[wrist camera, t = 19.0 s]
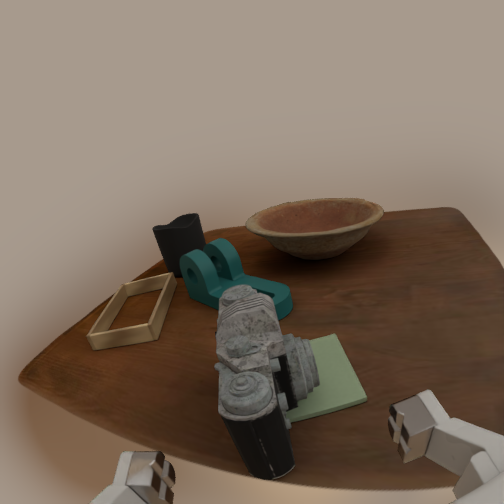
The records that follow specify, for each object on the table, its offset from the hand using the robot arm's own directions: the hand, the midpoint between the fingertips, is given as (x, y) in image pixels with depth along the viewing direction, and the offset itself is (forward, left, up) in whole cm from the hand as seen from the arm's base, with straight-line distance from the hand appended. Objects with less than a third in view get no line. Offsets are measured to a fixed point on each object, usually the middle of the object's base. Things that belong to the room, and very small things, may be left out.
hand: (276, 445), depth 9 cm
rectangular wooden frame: (-20, +38, -12) cm, 44 cm away
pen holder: (-13, +54, -12) cm, 57 cm away
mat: (+2, +16, -12) cm, 20 cm away
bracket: (-3, +35, -12) cm, 37 cm away
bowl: (+12, +46, -12) cm, 49 cm away
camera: (0, +12, -12) cm, 17 cm away
